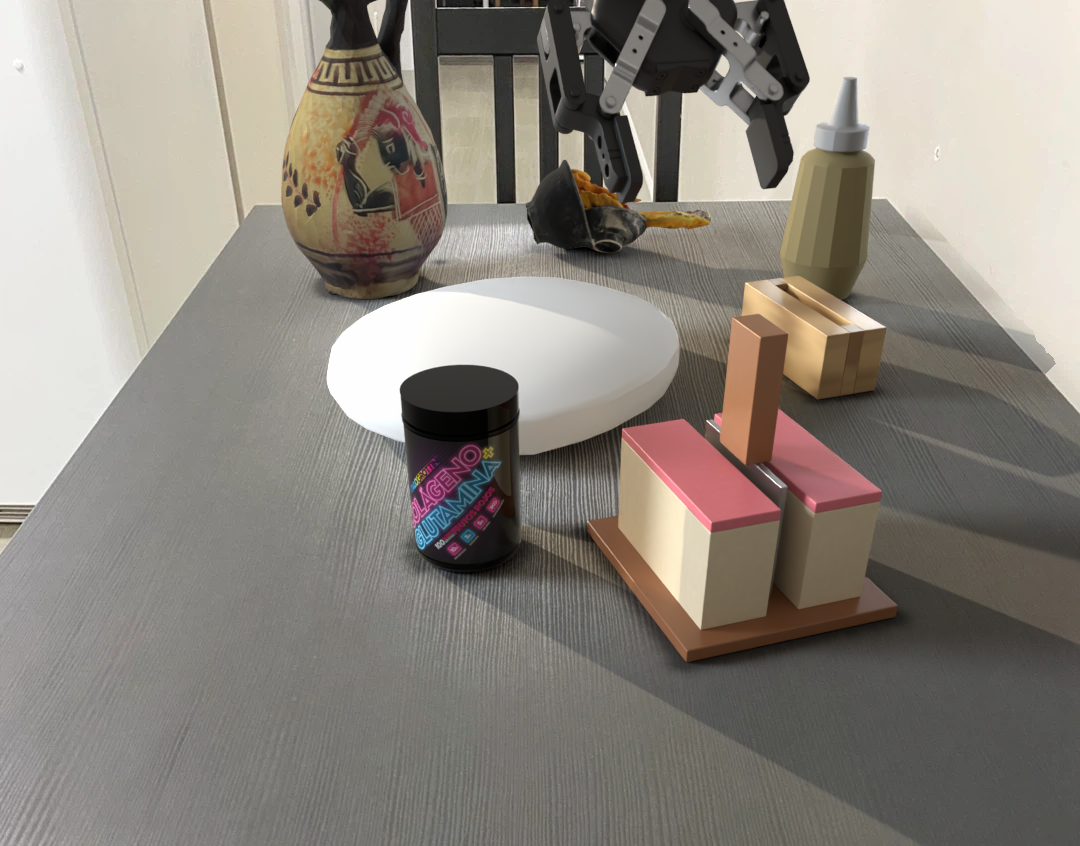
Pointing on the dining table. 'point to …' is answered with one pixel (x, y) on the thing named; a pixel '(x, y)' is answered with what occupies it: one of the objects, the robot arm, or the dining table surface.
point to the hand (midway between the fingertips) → (705, 187)
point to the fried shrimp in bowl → (594, 214)
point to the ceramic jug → (363, 162)
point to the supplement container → (463, 465)
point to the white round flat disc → (514, 354)
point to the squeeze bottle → (832, 202)
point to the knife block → (819, 336)
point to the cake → (741, 540)
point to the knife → (753, 405)
